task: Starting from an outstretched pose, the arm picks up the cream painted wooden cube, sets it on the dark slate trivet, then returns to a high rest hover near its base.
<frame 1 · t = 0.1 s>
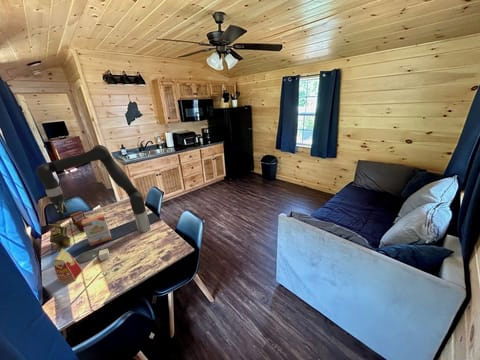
hand: (64, 215, 138), 29 cm above the table, fingers open, 8 cm apart
olive piece: (63, 245, 154), on the table
cracker box: (101, 241, 157), on the table
cube: (105, 257, 140), on the table
milk carton: (71, 277, 125), on the table
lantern: (82, 225, 179), on the table
trivet: (87, 256, 142), on the table
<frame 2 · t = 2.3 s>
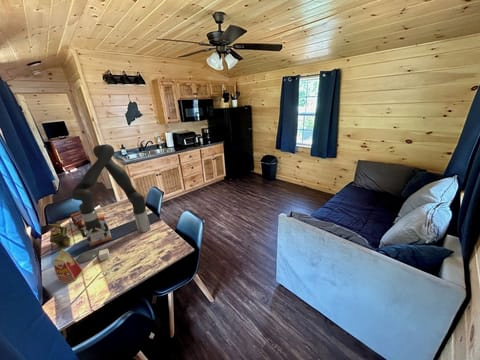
hand: (98, 238, 134), 16 cm above the table, fingers open, 8 cm apart
nothing on the table moved.
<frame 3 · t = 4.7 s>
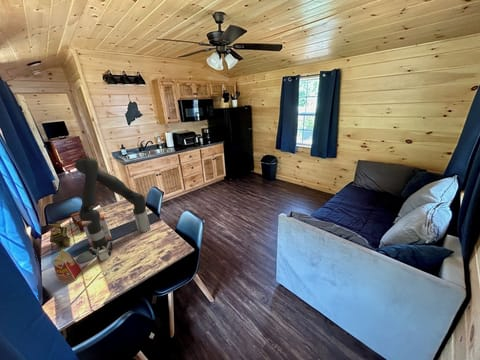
hand: (105, 256, 140), 0 cm above the table, fingers closed on cube, 5 cm apart
cube: (105, 257, 140), on the table, touching gripper
everything else where it was.
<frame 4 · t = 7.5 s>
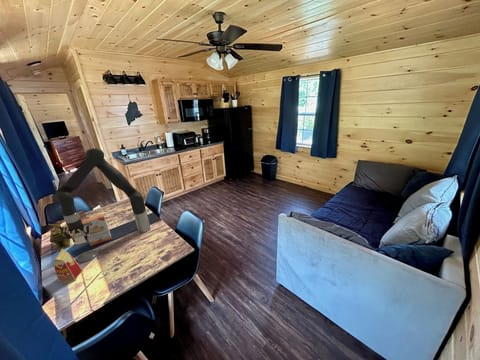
hand: (81, 240, 137), 13 cm above the table, fingers closed on cube, 5 cm apart
cube: (81, 241, 137), point 13 cm above the table, touching gripper
everything else where it was.
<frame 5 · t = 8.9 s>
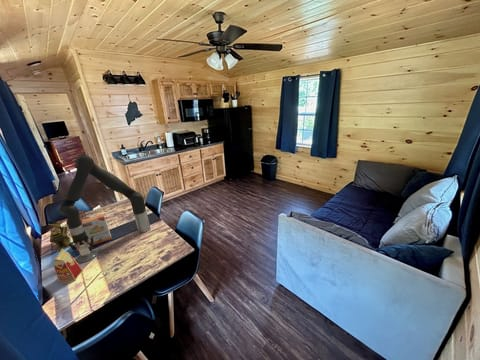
hand: (85, 251, 140), 4 cm above the table, fingers closed on cube, 5 cm apart
cube: (86, 252, 140), point 3 cm above the table, touching gripper
when the fingers open (2 cm above the table, at t = 10.3 s): cube stays where it is, resting on trivet.
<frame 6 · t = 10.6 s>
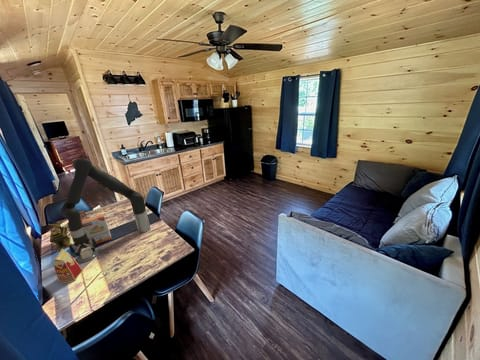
hand: (86, 253, 141), 3 cm above the table, fingers open, 8 cm apart
cube: (87, 255, 141), point 1 cm above the table, touching trivet
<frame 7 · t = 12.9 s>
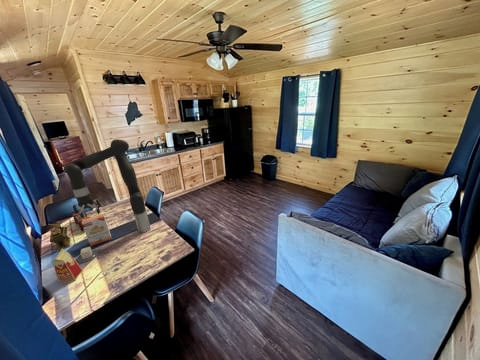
hand: (91, 215, 135), 30 cm above the table, fingers open, 8 cm apart
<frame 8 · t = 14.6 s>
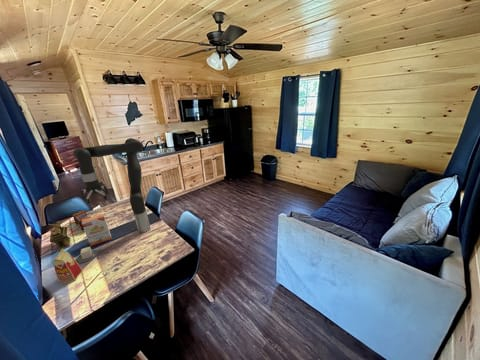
hand: (98, 201, 135), 38 cm above the table, fingers open, 8 cm apart
at the end: cube 0.1 cm from the trivet (horizontally); cube point 0.6 cm above the table; cube tilted 0° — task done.
